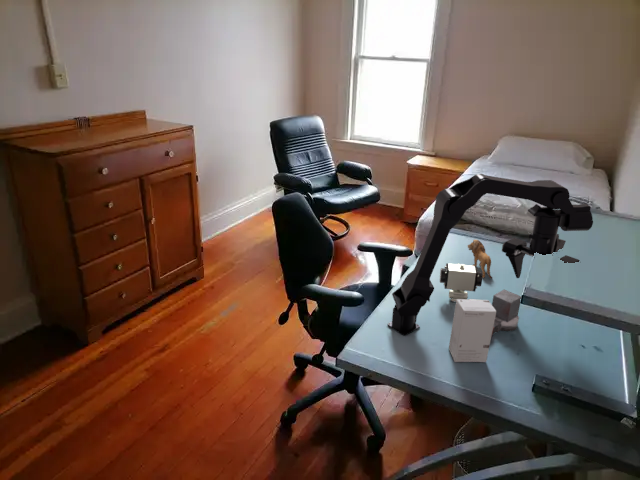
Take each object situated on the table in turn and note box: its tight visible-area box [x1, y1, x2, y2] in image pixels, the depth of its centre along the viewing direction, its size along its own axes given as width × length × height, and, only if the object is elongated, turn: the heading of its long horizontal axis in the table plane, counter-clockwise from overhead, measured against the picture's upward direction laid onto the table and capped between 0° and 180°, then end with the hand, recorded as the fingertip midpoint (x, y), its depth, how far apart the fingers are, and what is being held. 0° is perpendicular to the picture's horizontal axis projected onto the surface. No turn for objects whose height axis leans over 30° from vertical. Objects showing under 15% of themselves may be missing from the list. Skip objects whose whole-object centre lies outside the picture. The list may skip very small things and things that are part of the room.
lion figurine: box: [467, 239, 493, 280], centre depth 159 cm, size 15×5×9 cm, turn 12°
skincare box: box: [448, 298, 496, 363], centre depth 115 cm, size 8×6×15 cm
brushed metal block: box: [491, 289, 522, 322], centre depth 128 cm, size 5×5×6 cm
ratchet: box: [491, 315, 520, 338], centre depth 126 cm, size 19×8×6 cm, turn 128°
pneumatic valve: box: [439, 263, 483, 303], centre depth 140 cm, size 6×12×12 cm, turn 78°
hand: (533, 284), depth 126 cm, fingers open, 9 cm apart
